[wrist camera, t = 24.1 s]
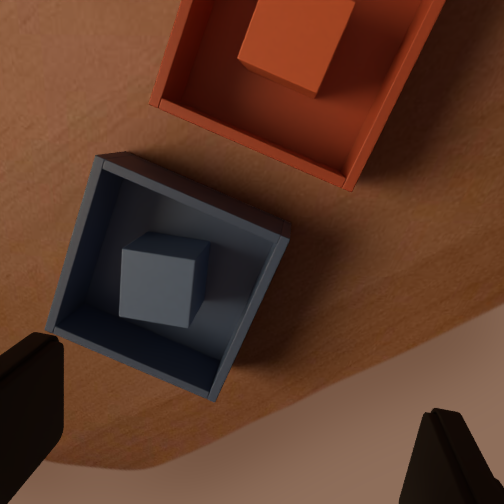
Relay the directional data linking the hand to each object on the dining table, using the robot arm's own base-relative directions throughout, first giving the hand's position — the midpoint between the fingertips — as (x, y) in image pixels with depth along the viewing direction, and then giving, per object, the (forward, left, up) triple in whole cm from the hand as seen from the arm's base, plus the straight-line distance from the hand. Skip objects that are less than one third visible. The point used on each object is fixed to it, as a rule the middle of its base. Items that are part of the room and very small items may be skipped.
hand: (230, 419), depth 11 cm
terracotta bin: (+3, -11, -19) cm, 23 cm away
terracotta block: (+3, -11, -19) cm, 22 cm away
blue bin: (+5, +5, -19) cm, 21 cm away
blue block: (+5, +5, -19) cm, 20 cm away
